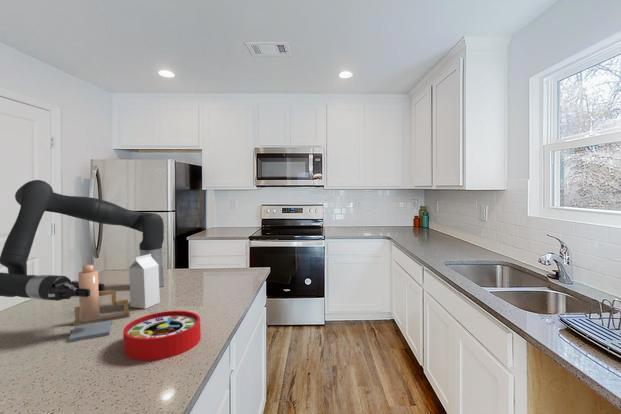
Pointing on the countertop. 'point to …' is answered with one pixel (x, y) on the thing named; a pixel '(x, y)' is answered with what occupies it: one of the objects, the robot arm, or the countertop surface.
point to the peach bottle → (90, 303)
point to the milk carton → (144, 282)
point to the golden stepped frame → (104, 317)
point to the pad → (90, 331)
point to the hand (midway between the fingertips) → (96, 290)
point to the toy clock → (161, 335)
